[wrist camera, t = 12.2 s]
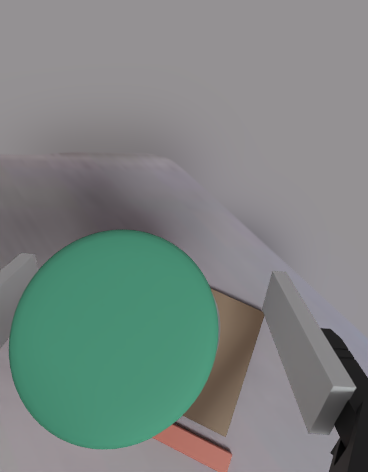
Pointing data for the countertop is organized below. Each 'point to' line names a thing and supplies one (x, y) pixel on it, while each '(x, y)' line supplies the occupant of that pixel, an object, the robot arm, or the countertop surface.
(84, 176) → the countertop surface
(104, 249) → the milk bottle
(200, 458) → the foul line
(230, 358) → the board
